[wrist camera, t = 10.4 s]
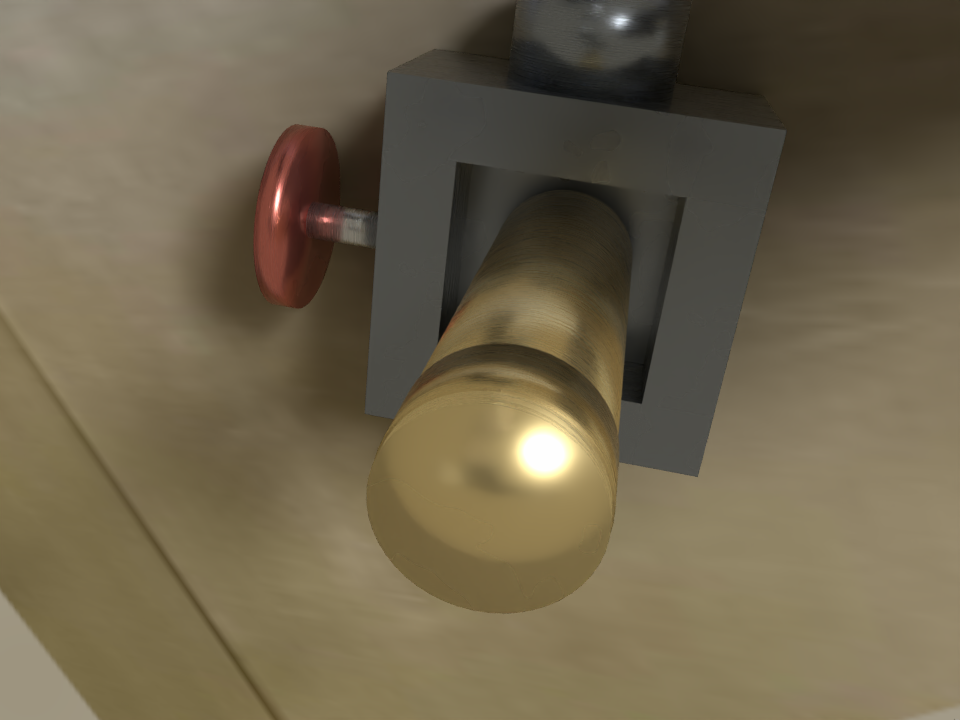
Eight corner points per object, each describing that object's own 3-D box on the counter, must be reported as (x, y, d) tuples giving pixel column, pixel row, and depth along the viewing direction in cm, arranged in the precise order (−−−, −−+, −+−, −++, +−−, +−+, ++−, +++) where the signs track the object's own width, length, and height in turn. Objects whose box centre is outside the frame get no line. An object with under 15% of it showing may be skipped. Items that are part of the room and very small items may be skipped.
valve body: (333, -62, 30) (255, -63, 24) (787, -3, 28) (820, 12, 23) (315, 392, 37) (252, 476, 32) (675, 460, 36) (678, 561, 30)
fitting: (503, 177, 29) (371, 379, 16) (646, 200, 29) (636, 428, 15) (486, 310, 31) (357, 588, 18) (620, 333, 31) (590, 637, 17)
